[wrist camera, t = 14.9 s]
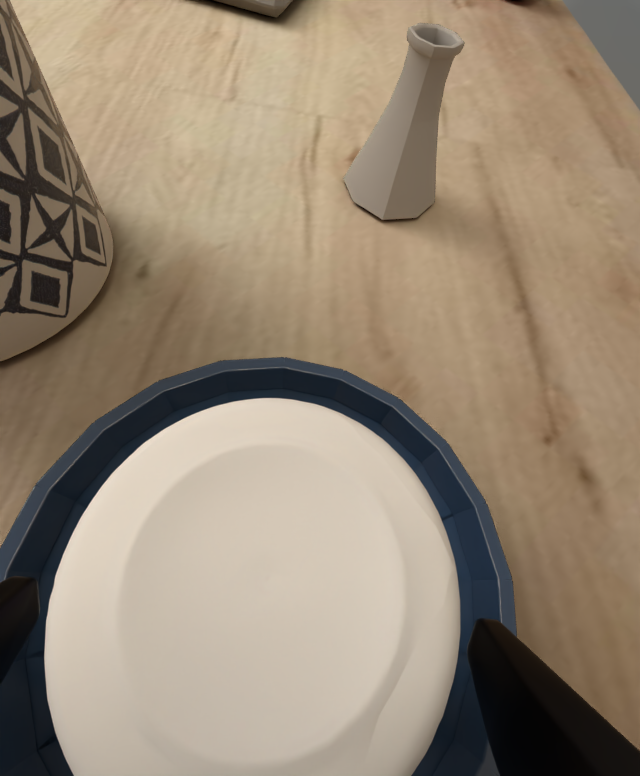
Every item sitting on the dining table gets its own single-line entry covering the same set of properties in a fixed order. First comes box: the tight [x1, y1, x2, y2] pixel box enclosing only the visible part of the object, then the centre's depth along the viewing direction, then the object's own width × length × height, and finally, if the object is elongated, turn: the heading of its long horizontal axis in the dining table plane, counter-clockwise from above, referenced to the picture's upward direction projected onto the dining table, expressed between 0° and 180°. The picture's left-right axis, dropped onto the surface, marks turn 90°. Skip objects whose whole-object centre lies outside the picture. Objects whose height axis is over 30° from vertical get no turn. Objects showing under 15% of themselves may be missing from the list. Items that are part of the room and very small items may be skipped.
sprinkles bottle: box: [44, 398, 460, 776], centre depth 10 cm, size 5×5×14 cm
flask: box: [343, 23, 465, 220], centre depth 26 cm, size 7×7×10 cm
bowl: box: [0, 357, 517, 776], centre depth 14 cm, size 17×17×4 cm
